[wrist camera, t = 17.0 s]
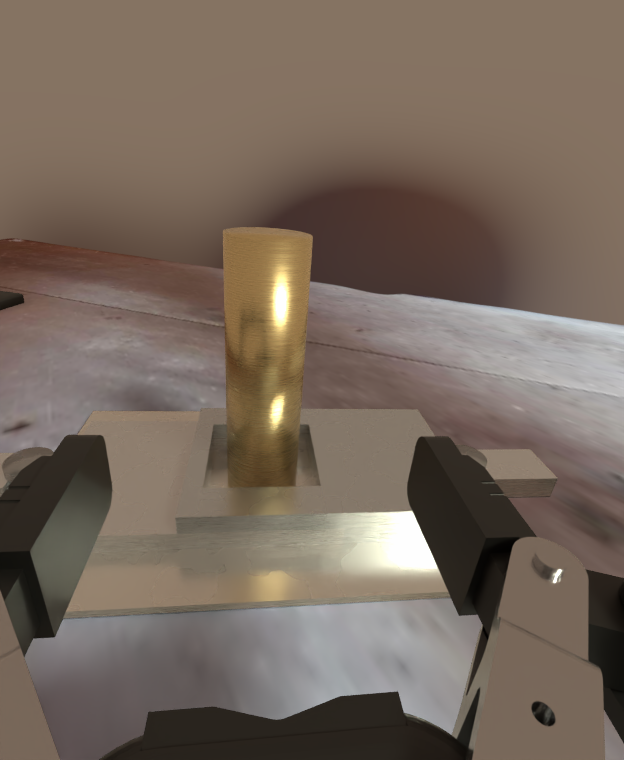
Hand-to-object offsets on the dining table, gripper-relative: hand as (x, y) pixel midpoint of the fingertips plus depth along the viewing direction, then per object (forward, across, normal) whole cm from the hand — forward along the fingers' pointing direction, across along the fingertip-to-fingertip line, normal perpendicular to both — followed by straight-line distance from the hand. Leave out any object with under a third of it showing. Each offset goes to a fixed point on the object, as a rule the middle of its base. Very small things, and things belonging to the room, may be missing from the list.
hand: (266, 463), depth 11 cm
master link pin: (+11, 0, +10) cm, 15 cm away
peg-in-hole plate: (+11, 0, +10) cm, 15 cm away
